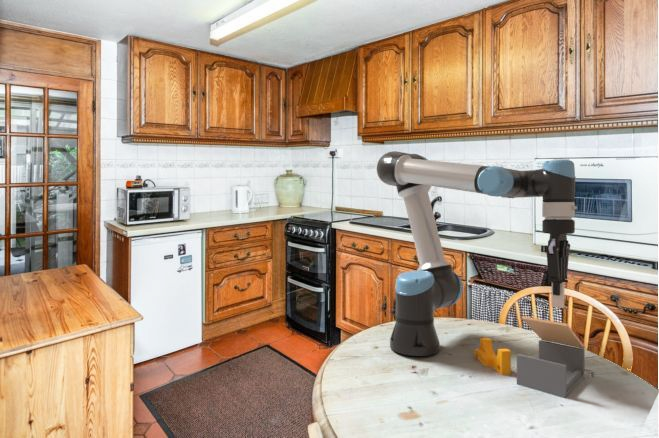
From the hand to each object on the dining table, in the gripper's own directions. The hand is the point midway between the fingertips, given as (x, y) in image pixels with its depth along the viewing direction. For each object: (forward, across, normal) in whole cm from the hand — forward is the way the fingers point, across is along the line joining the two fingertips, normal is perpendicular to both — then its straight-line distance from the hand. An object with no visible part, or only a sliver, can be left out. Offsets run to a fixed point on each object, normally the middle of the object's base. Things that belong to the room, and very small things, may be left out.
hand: (557, 306), depth 109 cm
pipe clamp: (+19, -6, +15) cm, 25 cm away
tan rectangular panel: (+11, +4, 0) cm, 11 cm away
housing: (+18, -5, 0) cm, 19 cm away
